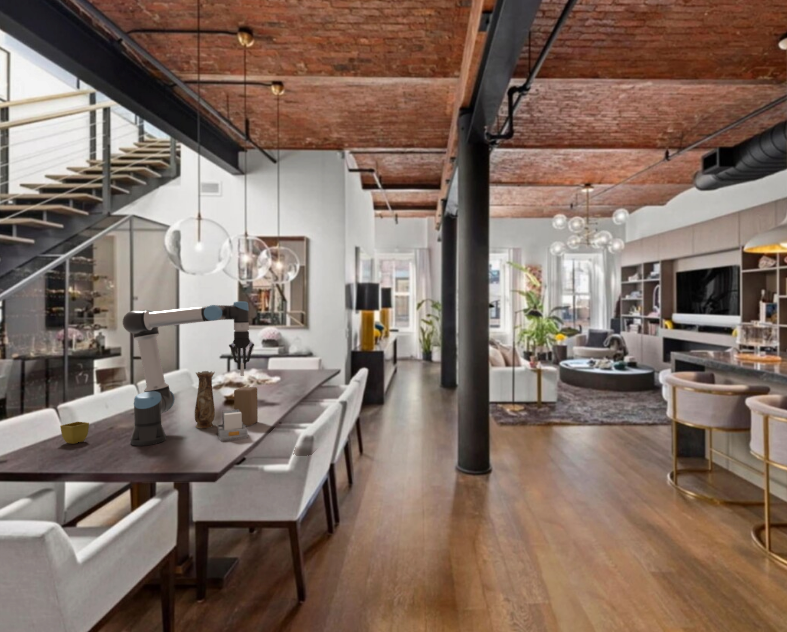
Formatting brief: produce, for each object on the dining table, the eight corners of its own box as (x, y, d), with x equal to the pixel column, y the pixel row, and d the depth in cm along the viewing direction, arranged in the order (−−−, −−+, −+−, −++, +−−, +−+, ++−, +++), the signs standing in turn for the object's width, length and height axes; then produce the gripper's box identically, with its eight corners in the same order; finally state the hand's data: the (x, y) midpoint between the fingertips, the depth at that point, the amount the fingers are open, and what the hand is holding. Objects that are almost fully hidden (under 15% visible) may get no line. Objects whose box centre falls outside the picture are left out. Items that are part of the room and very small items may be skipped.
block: (258, 421, 261) (257, 386, 261) (251, 426, 251) (250, 390, 251) (241, 421, 262) (241, 386, 262) (233, 425, 252) (233, 389, 252)
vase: (202, 423, 258) (201, 370, 257) (219, 424, 256) (218, 370, 255) (190, 428, 248) (189, 373, 247) (208, 429, 245) (207, 373, 245)
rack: (220, 441, 223) (220, 416, 223) (217, 433, 237) (217, 410, 237) (247, 437, 228) (247, 414, 228) (242, 430, 243) (242, 407, 242)
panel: (225, 437, 227) (224, 414, 226) (224, 435, 230) (223, 413, 230) (241, 434, 230) (241, 413, 230) (240, 433, 233) (240, 411, 233)
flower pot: (59, 443, 220) (59, 425, 220) (78, 439, 229) (77, 421, 228) (72, 445, 217) (71, 427, 217) (90, 440, 225) (89, 422, 225)
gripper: (229, 331, 234) (229, 377, 234) (255, 330, 240) (256, 375, 240) (227, 330, 241) (228, 375, 241) (253, 330, 247) (253, 373, 247)
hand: (242, 375), depth 241 cm, fingers closed
